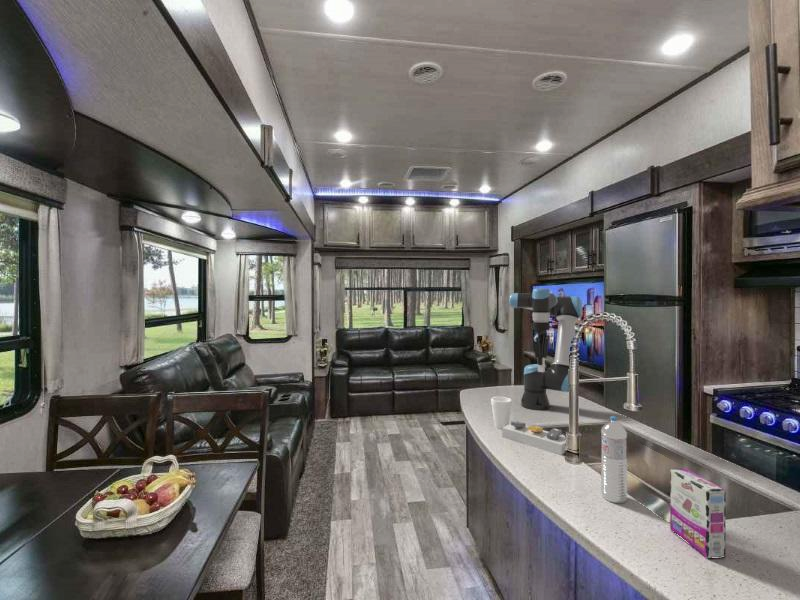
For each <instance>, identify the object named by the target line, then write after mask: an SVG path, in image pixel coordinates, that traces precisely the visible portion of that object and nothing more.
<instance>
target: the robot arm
mask: <svg viewBox="0 0 800 600" xmlns="http://www.w3.org/2000/svg"><path fill="white" fill-rule="evenodd" d="M508 301H509V303H508V304H509V306H510V307H511V308H514V309H526V310H530V311H532V315H531V316H532V321H533V322H532V330H533V331H535V334H534V336H533V337H532V338H531V339H532V342H533V349H534V358H536V359H537V363H534V364H528V365H525V366H524V370H523V394H522V397H521V399H520V406H522V407H523V408H525V409H529V410H538V411H543V410H549V408H550V406H551V405H550V401H549V397H548V395H547V390H549V391H550V390H551V391H559V392H563V393H565V392H566V393H570V392H569V384H568V369H569V355H570V347H571V341H572V338H573V336H574V337H575V329H576V323H577V322H579V319H580V318H582V317H583V315H584V312H583V303H582V300H581V298H580V297H579V296H573V295H570V296H557V295H556V294H555V293H552V292H550V289H549V288H533V289H532V292H523V293H521V292H520V293H519V292H515V293H511V294H510V295H509V300H508ZM550 317H555V318H556V320H557V321H558V325H557V333H556V334H557V335H556V336H557V337H556V344H555V354H554V359H553V360H554V361H553V362H552V363H550V367H547V364H546V362H545V361H546V359H548V351H549V340H550V335H548V332H547V331H549V330H550V329H551V326H550V325H551V323H550V321H551V318H550Z"/></svg>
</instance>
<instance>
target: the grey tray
mask: <svg viewBox="0 0 800 600" xmlns="http://www.w3.org/2000/svg"><path fill="white" fill-rule="evenodd" d="M528 426H529V425H526V424H525V427H516V426H512V425H511V423H509V425H507V426H505V427H503V428H502V429H501V437H502V438H505V439H508V440H511V441H514V442H518V443H521V444H524V445H528V446H531V447H534V448H538V449H540V450H544V451H546V452H550V453H553V454H557V455H560V456H562V455H564V454H566V452H565V444H566V438H565V436H566V435H563V434H561V435H560V436H559V437H558V438H557V439H556V440H553V439H550V438H547V434H548V433H549V432H550V431H547V430H544V429H543V432H535V431H531V430H528ZM578 452H579V455H578V456H582V457H584V458H589V454H588V453H585V452H581V451H578Z"/></svg>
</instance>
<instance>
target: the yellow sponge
mask: <svg viewBox="0 0 800 600" xmlns="http://www.w3.org/2000/svg"><path fill="white" fill-rule="evenodd" d="M527 426H528V430H531V431H535V432H543V430H544V428H543V427H539V426H536V425H527Z"/></svg>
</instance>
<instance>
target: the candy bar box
mask: <svg viewBox="0 0 800 600" xmlns="http://www.w3.org/2000/svg"><path fill="white" fill-rule="evenodd" d="M669 483H670V492H669V493H670V496H669V497H670V499H669V500H670V505H669V506H670V515H669V516H670V520H669V521H670V522H669V523H670V525H669V526H670V529H671V530H672V531H674V532H675V533H676V534H678V535H679V536H681V537H682V538H683V539H684V540H686V541H687V542H688V543H689V544H690V545H691V546H693V547H694V548H695V549H696V551H697V552H698V551H699V552H700V553H699V552H698V553H699V554H701V555H702V556H703V555H704V556H703V557H705V558H706V557H707V558H712V557H722V556H725V557H726V515H727V514H726V511H727V510H726V497H727V495H726V492H727V490H726V489H725V488H723V487H721V486H719V485H718V484H715V483H714V482H712V481H710V480H708V479H707V478H704V477H702V476H701V475H698V474H697V473H695V472H693V471H692V470H689V469H687V468H677V469H675V468H673V469H670V482H669ZM670 529H669V530H670ZM671 530H670V531H671ZM672 531H671V532H672ZM676 534H675V535H676ZM684 540H683V541H684ZM688 543H687V544H688ZM689 544H688V545H689ZM690 545H689V546H690ZM691 546H690V547H691ZM693 547H692V548H693ZM694 548H693V549H694ZM695 549H694V550H695ZM707 558H706V559H707Z"/></svg>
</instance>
